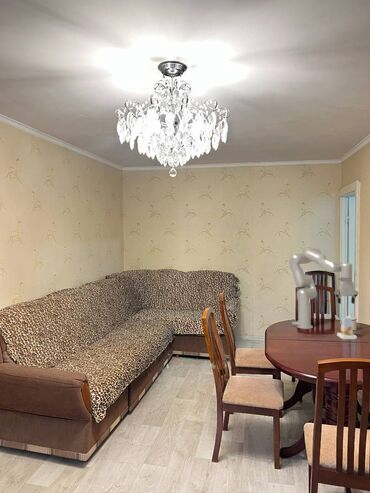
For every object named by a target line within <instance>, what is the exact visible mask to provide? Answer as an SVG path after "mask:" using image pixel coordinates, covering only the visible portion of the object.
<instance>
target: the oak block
mask: <svg viewBox="0 0 370 493" xmlns="http://www.w3.org/2000/svg"><path fill="white" fill-rule="evenodd" d="M340 333H341V334H343V335H344V336H348V335H353V334H354V331H353V327H344V326H342V325H341V324H340Z"/></svg>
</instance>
